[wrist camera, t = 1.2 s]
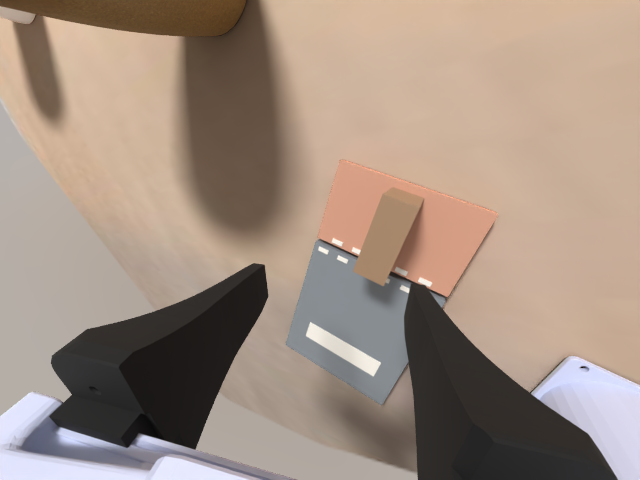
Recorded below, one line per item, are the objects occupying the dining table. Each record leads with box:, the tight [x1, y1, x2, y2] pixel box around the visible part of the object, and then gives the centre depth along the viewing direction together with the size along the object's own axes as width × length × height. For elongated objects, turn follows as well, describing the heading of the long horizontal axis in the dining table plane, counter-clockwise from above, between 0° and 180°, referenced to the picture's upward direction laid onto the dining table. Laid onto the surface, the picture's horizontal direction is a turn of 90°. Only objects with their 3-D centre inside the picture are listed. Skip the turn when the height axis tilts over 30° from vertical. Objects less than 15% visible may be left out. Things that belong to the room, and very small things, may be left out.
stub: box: [318, 160, 498, 297], centre depth 19 cm, size 12×7×5 cm, turn 72°
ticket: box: [286, 239, 445, 405], centre depth 25 cm, size 12×14×1 cm
